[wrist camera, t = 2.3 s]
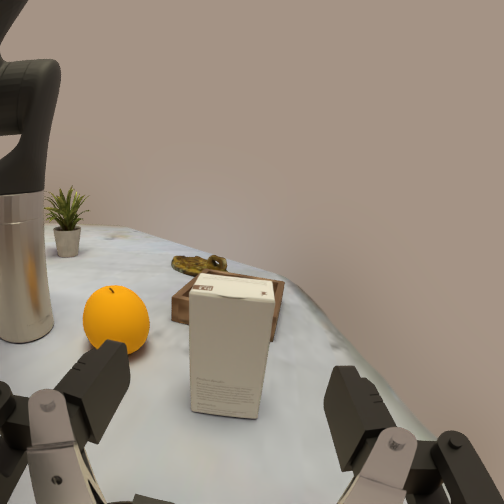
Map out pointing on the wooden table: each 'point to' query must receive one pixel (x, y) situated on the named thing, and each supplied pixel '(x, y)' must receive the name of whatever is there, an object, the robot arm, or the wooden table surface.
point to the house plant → (66, 224)
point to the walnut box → (182, 296)
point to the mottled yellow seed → (198, 264)
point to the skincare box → (229, 343)
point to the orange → (116, 318)
